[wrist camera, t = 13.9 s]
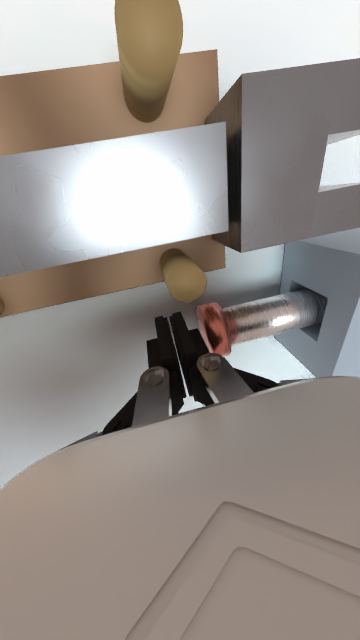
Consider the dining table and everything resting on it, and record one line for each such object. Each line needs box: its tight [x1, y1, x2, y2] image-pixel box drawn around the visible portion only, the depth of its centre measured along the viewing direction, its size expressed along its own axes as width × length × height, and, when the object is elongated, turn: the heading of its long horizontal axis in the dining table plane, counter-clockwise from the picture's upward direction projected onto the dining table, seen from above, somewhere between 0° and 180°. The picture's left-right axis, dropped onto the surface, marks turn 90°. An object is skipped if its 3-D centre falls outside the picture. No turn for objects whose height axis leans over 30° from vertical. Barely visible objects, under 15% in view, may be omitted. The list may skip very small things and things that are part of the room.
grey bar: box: [0, 58, 360, 277], centre depth 8 cm, size 20×5×4 cm, turn 99°
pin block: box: [275, 227, 360, 378], centre depth 13 cm, size 7×8×6 cm
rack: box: [0, 0, 225, 317], centre depth 8 cm, size 16×8×4 cm, turn 99°
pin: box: [197, 288, 328, 357], centre depth 13 cm, size 11×3×3 cm, turn 99°
